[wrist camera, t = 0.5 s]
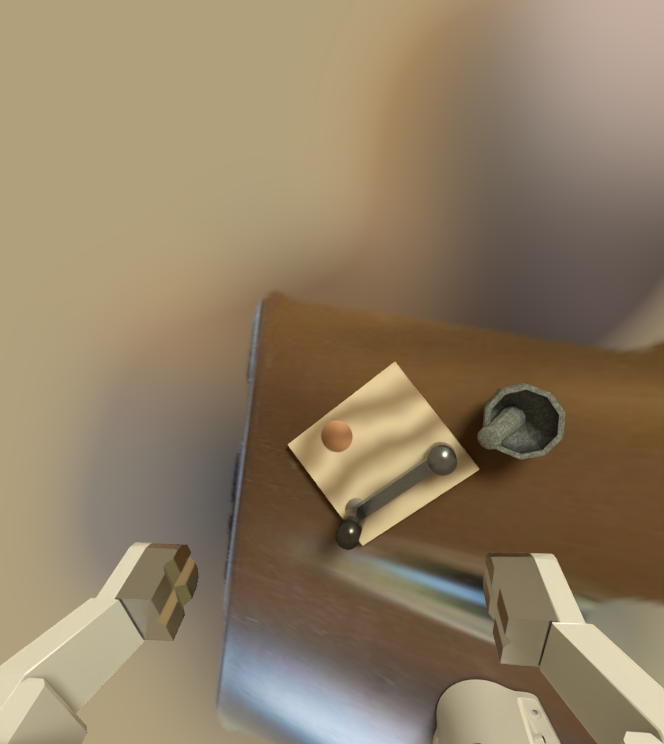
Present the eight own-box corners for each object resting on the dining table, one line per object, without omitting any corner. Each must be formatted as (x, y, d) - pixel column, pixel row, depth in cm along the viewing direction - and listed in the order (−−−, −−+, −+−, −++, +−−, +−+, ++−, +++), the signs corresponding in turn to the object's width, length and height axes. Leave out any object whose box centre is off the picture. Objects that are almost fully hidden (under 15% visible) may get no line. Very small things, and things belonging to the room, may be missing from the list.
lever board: (477, 466, 57) (479, 470, 55) (363, 541, 62) (362, 546, 60) (395, 361, 59) (394, 362, 57) (290, 442, 64) (287, 445, 62)
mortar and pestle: (539, 373, 54) (571, 381, 43) (556, 436, 54) (593, 461, 43) (459, 392, 57) (468, 404, 45) (475, 452, 57) (489, 480, 45)
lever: (461, 458, 55) (467, 477, 47) (356, 528, 60) (346, 556, 52) (443, 436, 56) (447, 451, 48) (341, 507, 60) (329, 532, 52)
